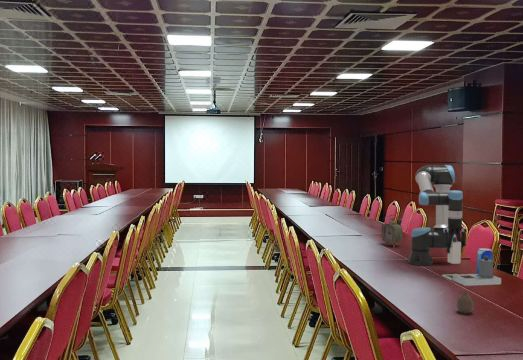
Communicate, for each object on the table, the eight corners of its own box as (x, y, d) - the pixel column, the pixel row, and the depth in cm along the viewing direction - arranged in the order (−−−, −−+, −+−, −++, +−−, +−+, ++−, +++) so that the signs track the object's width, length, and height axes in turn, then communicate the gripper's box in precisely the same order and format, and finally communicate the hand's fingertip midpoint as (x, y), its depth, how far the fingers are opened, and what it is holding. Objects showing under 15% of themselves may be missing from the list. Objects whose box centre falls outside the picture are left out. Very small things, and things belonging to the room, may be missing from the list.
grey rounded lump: (468, 310, 221) (469, 290, 220) (476, 314, 214) (476, 294, 214) (453, 310, 221) (454, 290, 220) (460, 314, 214) (460, 295, 213)
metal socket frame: (452, 281, 272) (452, 274, 272) (487, 280, 276) (487, 273, 275) (465, 287, 260) (465, 279, 260) (501, 285, 264) (501, 278, 264)
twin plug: (478, 281, 271) (479, 255, 270) (487, 280, 272) (487, 254, 271) (484, 283, 266) (484, 256, 265) (492, 282, 267) (493, 256, 266)
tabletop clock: (381, 245, 389) (382, 214, 388) (390, 244, 393) (391, 213, 392) (393, 248, 376) (394, 215, 375) (403, 247, 380) (403, 215, 379)
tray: (442, 277, 282) (442, 274, 282) (456, 277, 284) (456, 273, 283) (450, 281, 273) (450, 278, 273) (466, 280, 274) (466, 277, 274)
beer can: (483, 278, 279) (483, 250, 279) (473, 275, 288) (473, 248, 287) (495, 277, 282) (496, 250, 281) (485, 274, 290) (485, 247, 289)
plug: (447, 261, 280) (448, 236, 280) (455, 261, 281) (456, 236, 280) (452, 263, 276) (452, 238, 275) (460, 263, 276) (461, 238, 275)
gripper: (443, 219, 272) (442, 260, 273) (473, 218, 275) (472, 259, 276) (436, 217, 279) (435, 257, 281) (465, 216, 282) (464, 256, 283)
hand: (454, 258), depth 278 cm, fingers closed on plug, 5 cm apart
